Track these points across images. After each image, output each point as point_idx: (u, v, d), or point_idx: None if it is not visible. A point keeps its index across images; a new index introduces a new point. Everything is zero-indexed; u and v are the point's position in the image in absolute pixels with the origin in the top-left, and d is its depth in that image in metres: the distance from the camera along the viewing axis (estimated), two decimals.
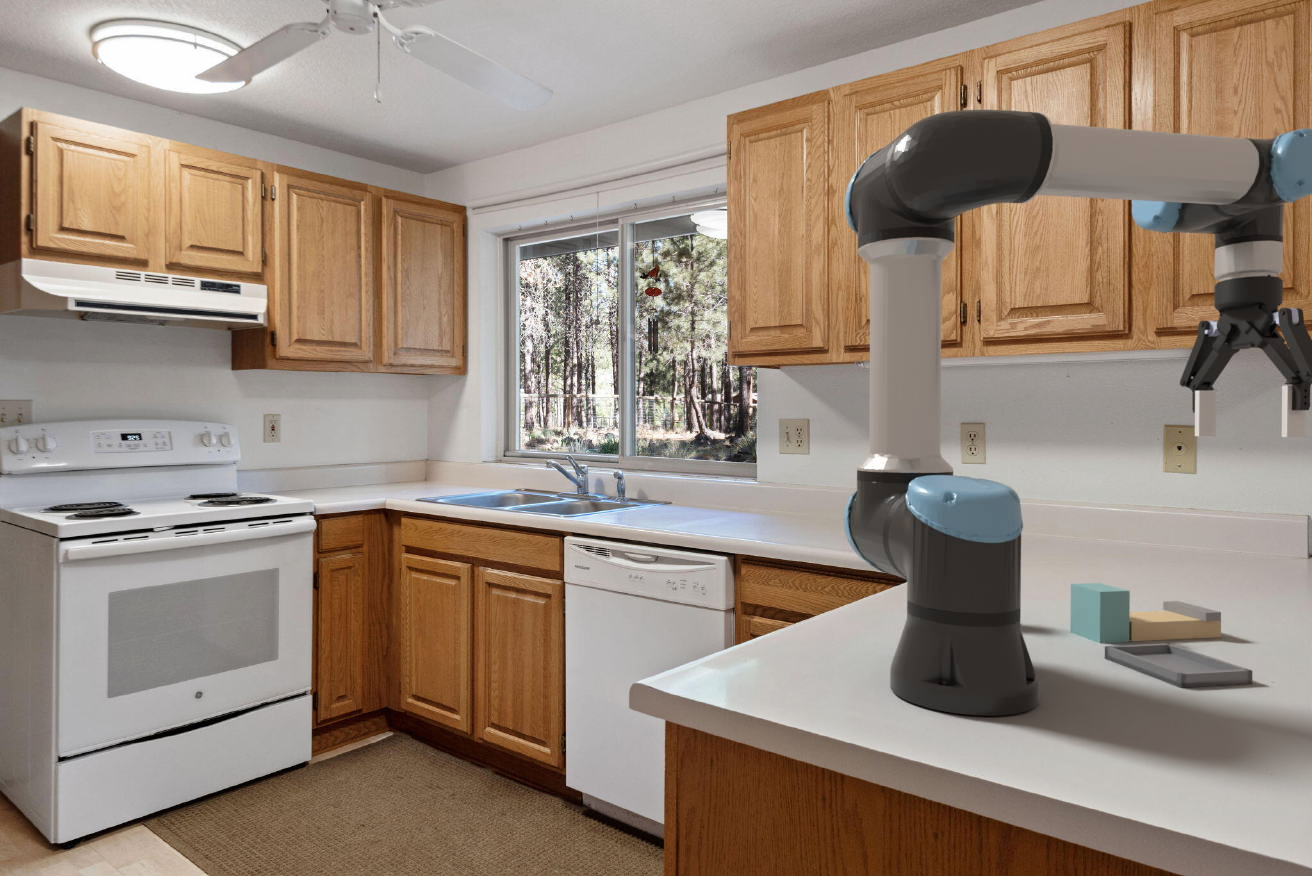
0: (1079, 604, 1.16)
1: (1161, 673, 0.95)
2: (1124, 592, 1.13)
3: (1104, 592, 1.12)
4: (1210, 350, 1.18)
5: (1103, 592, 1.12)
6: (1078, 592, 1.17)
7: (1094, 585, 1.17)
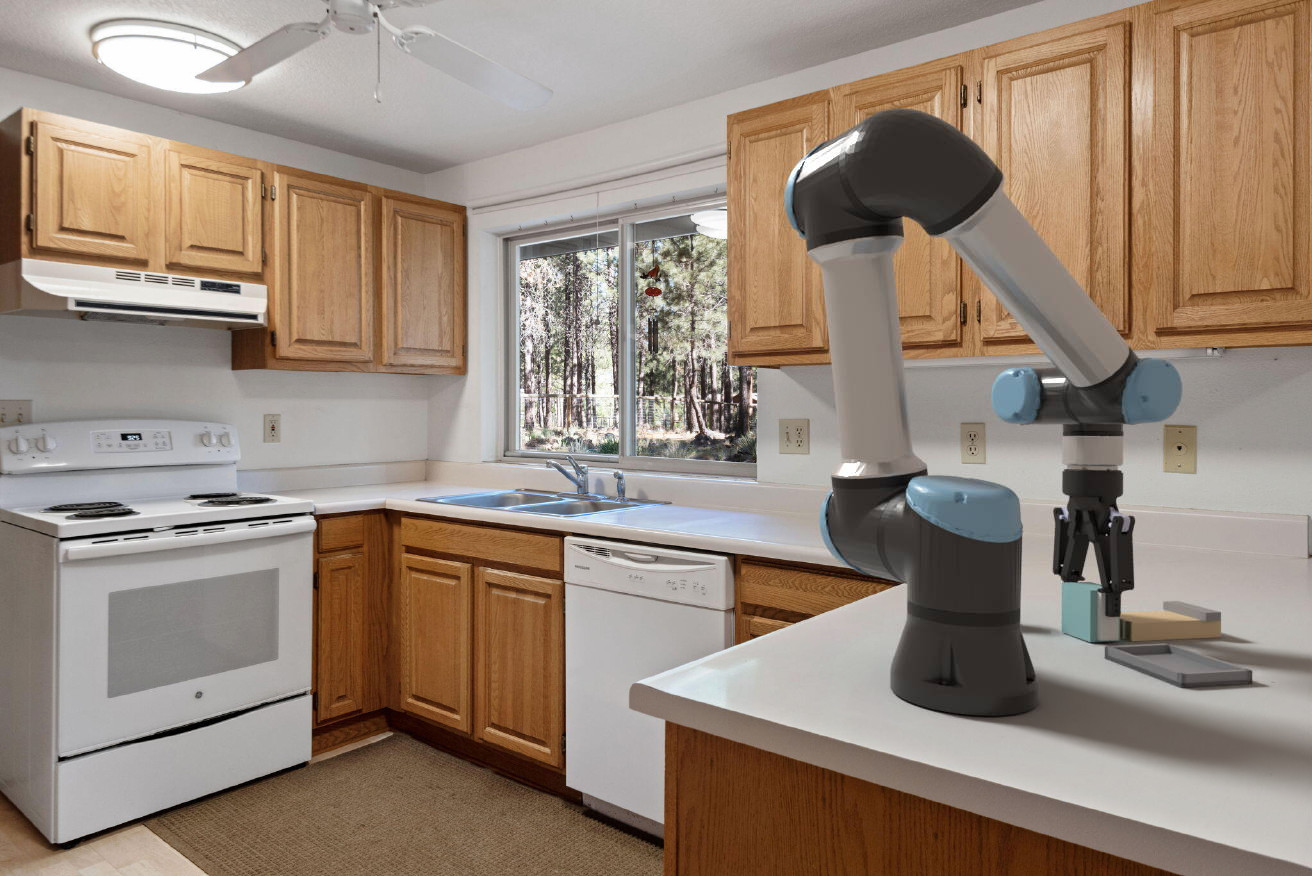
0: (1070, 603, 1.16)
1: (1161, 673, 0.95)
2: None
3: (1094, 591, 1.12)
4: None
5: (1093, 591, 1.12)
6: (1069, 591, 1.16)
7: (1085, 584, 1.17)
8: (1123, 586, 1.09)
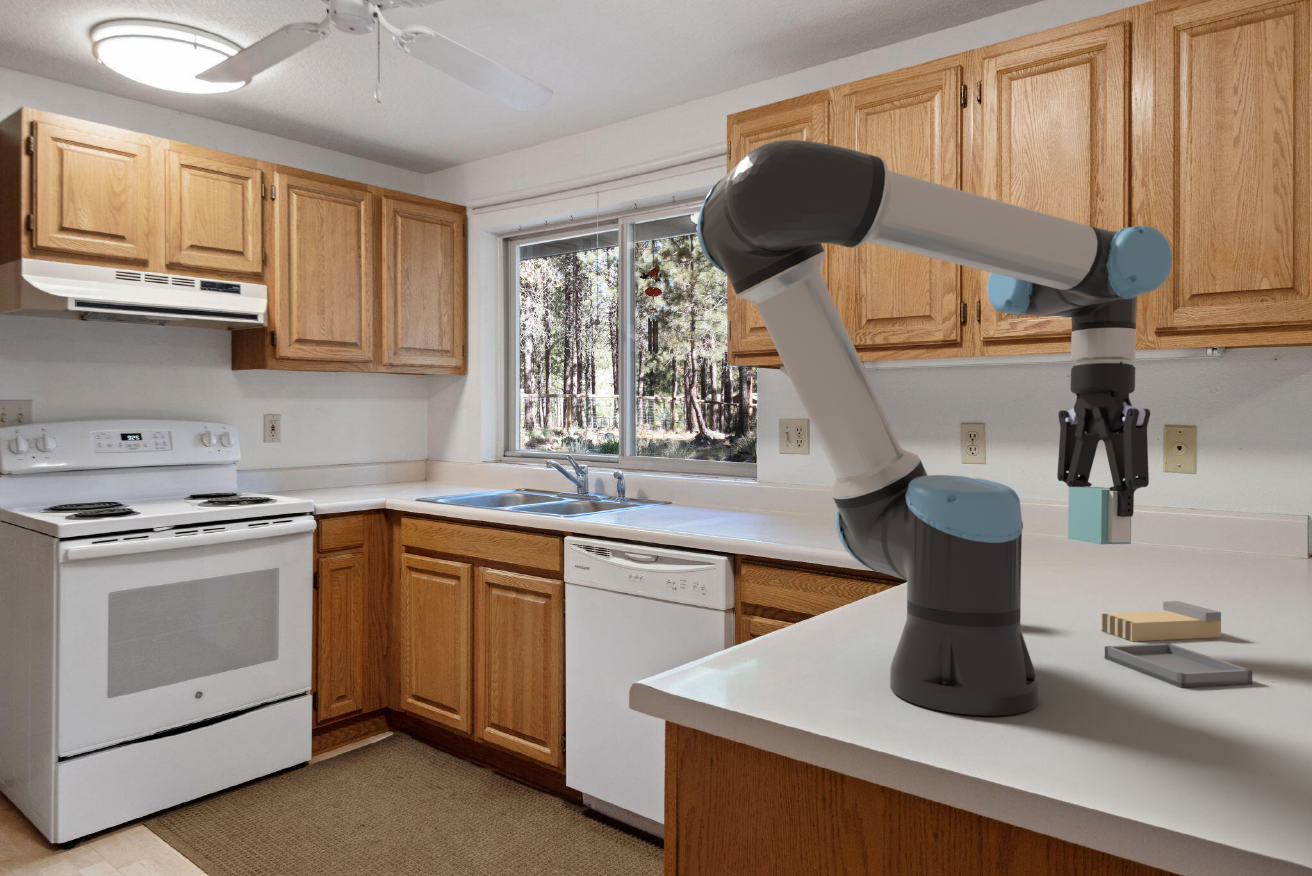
0: (1078, 506, 1.10)
1: (1161, 673, 0.95)
2: None
3: (1106, 490, 1.06)
4: (1077, 439, 1.15)
5: (1105, 490, 1.06)
6: (1077, 494, 1.10)
7: None
8: (1137, 482, 1.03)
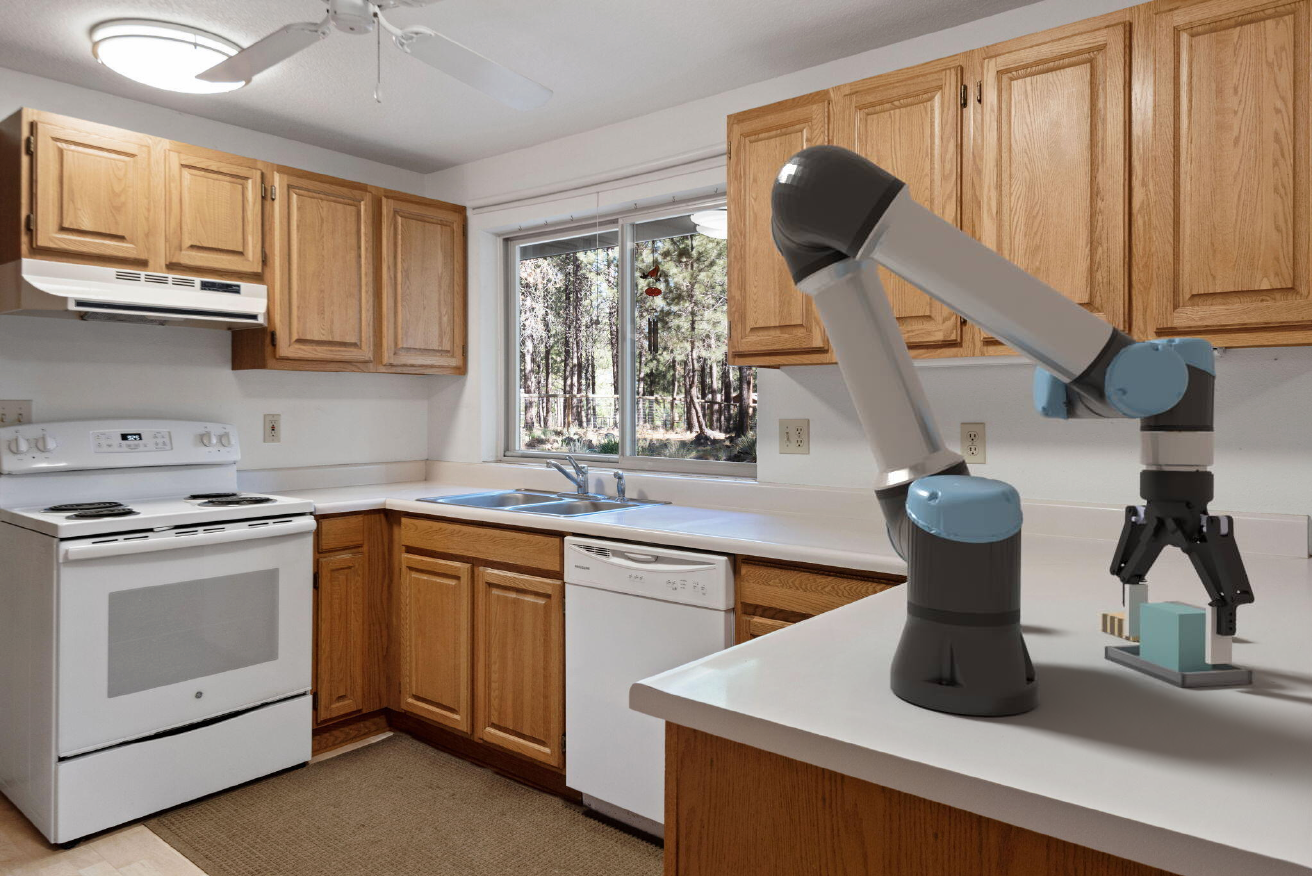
0: (1151, 627, 1.00)
1: (1161, 673, 0.95)
2: None
3: (1183, 614, 0.96)
4: (1140, 538, 1.06)
5: (1182, 614, 0.96)
6: (1149, 613, 1.00)
7: (1168, 605, 1.01)
8: (1241, 597, 0.90)
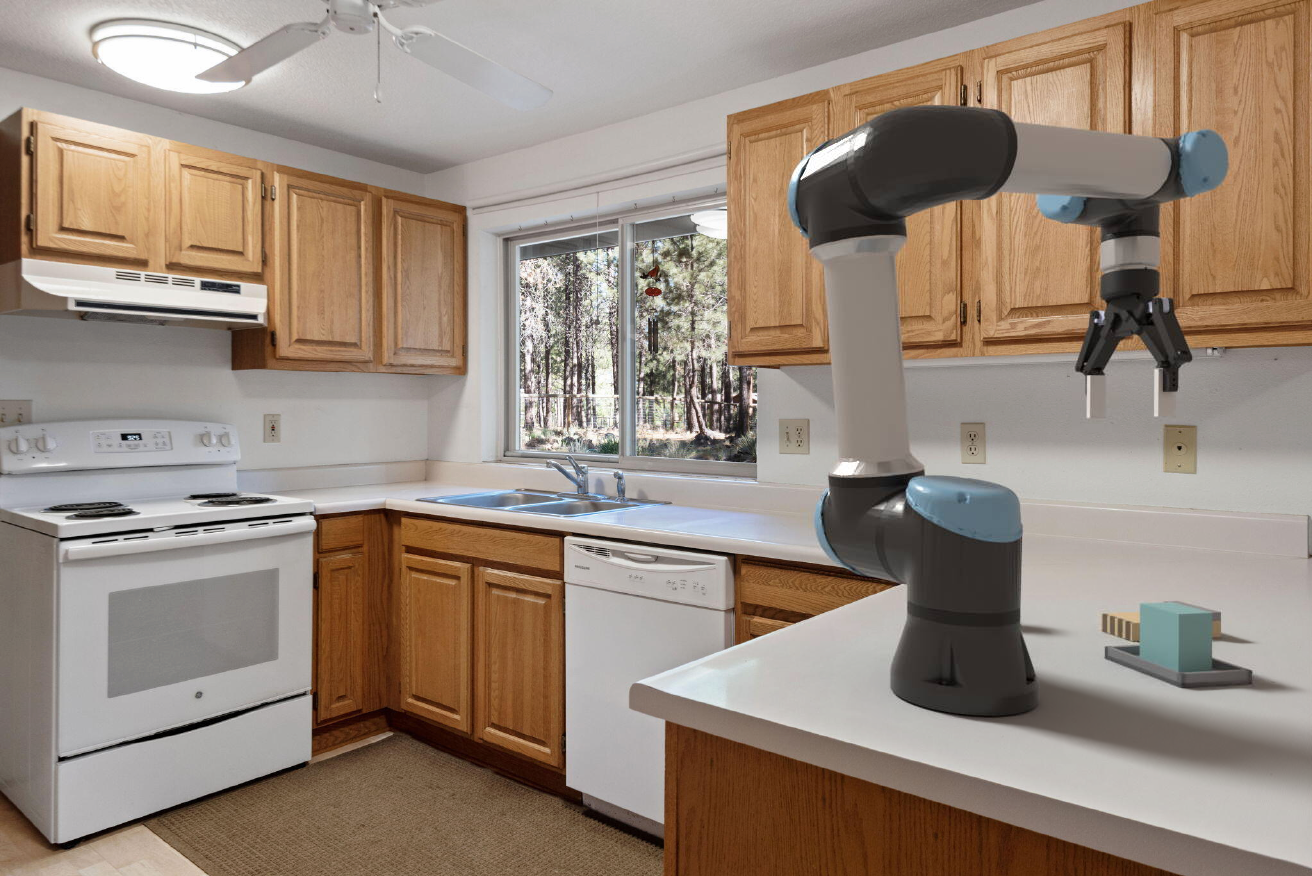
0: (1151, 627, 1.00)
1: (1161, 673, 0.95)
2: (1206, 614, 0.97)
3: (1183, 614, 0.96)
4: (1100, 338, 1.27)
5: (1182, 614, 0.96)
6: (1149, 613, 1.00)
7: (1168, 605, 1.01)
8: (1181, 355, 1.11)
